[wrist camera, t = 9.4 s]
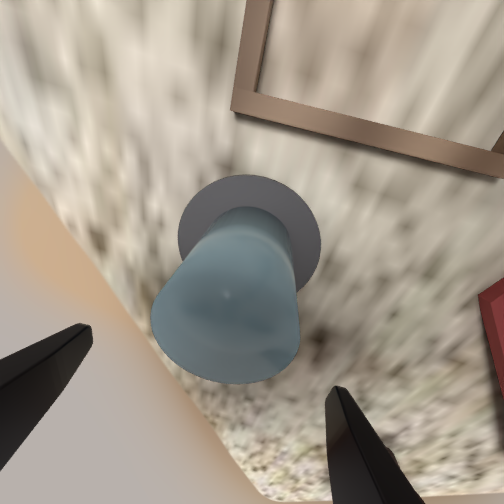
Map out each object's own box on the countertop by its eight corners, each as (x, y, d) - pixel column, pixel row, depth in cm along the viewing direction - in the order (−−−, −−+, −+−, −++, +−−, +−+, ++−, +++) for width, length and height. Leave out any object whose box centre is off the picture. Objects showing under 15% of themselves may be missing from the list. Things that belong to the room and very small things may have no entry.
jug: (270, 314, 19) (265, 422, 12) (197, 296, 19) (148, 394, 12) (303, 219, 15) (323, 293, 8) (212, 196, 15) (152, 251, 8)
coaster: (343, 196, 15) (344, 197, 14) (295, 316, 19) (295, 319, 19) (185, 157, 15) (184, 157, 14) (174, 286, 19) (173, 288, 19)
